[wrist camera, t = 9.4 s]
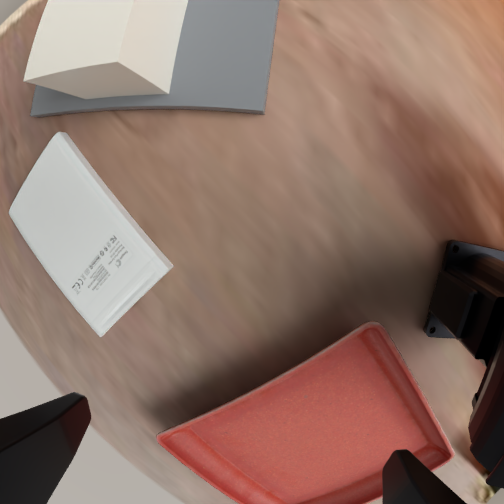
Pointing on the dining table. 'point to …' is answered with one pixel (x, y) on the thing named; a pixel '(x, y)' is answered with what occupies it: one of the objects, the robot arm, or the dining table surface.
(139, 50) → the block
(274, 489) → the plant saucer
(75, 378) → the dining table surface
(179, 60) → the base plate
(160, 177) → the dining table surface
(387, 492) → the robot arm
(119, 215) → the external hard drive
